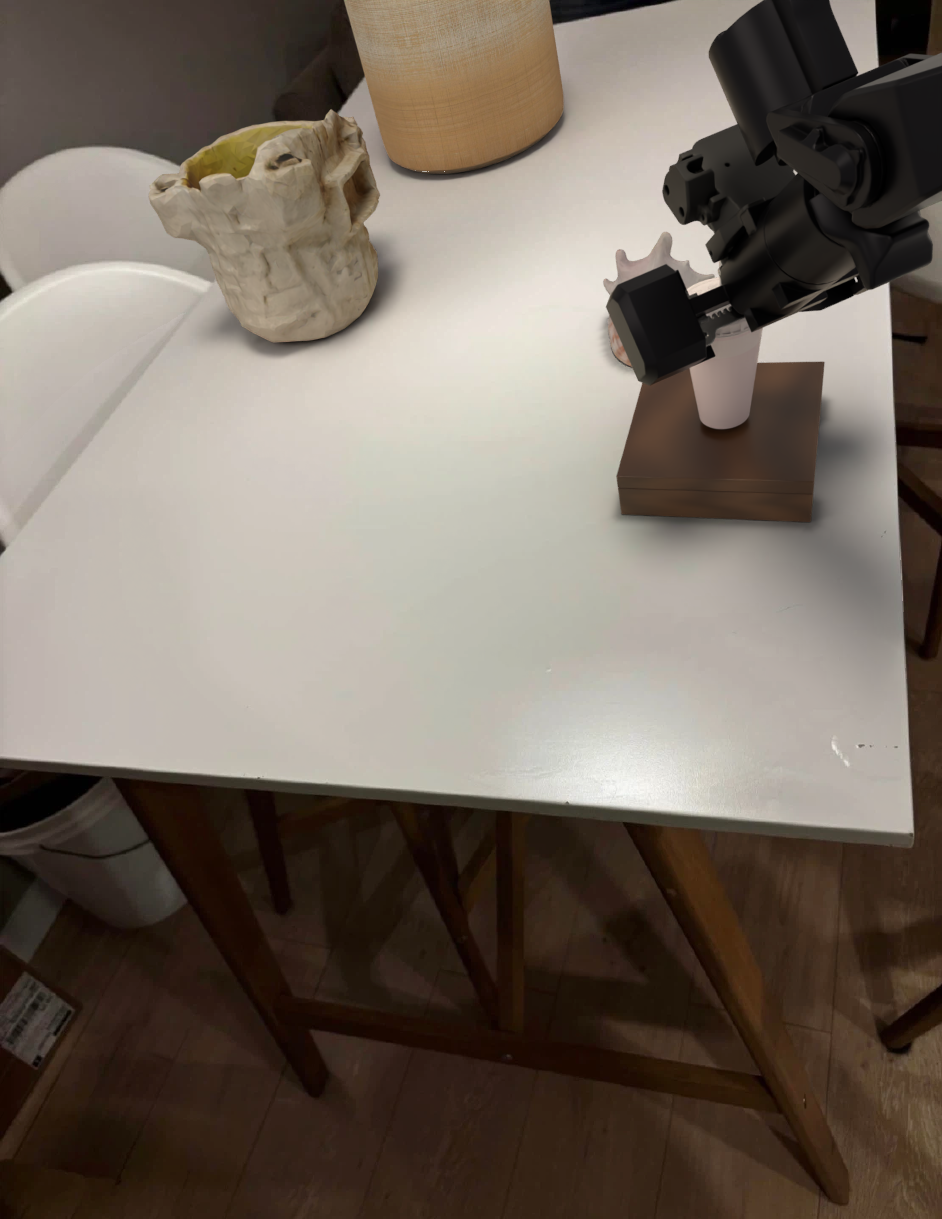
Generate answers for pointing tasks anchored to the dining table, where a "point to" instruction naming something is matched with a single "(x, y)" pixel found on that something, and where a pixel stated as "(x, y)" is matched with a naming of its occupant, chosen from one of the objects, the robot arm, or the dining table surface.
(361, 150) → the ceramic vessel
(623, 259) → the seashell
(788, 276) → the robot arm
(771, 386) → the wooden jewelry box
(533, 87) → the planter
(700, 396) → the smoothie
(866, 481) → the dining table surface
